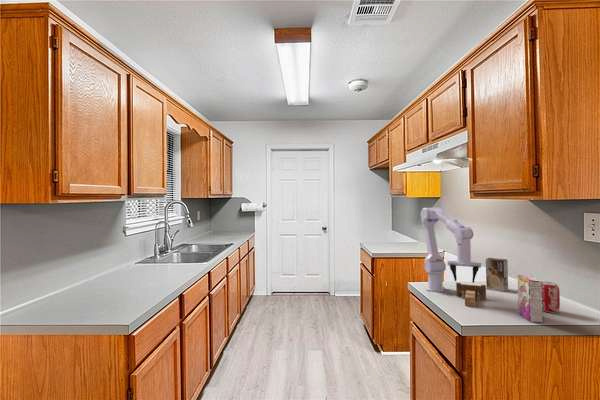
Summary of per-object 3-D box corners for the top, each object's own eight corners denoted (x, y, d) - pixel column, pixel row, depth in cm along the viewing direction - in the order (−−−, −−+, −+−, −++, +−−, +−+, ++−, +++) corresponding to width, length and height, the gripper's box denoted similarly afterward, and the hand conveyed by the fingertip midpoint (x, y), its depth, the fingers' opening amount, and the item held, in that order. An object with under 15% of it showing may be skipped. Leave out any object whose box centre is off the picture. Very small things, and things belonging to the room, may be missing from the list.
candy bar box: (517, 313, 146) (516, 274, 146) (530, 313, 145) (530, 274, 145) (529, 322, 135) (528, 280, 135) (543, 323, 134) (543, 280, 134)
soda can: (563, 312, 146) (562, 283, 146) (554, 315, 143) (554, 286, 143) (544, 307, 152) (544, 280, 152) (536, 310, 149) (535, 282, 149)
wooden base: (456, 295, 174) (456, 282, 174) (486, 298, 168) (485, 285, 168) (455, 297, 170) (455, 284, 170) (485, 301, 164) (485, 287, 164)
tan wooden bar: (466, 297, 170) (466, 289, 170) (475, 298, 168) (475, 290, 168) (464, 306, 157) (464, 297, 157) (474, 307, 155) (474, 298, 155)
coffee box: (508, 289, 183) (508, 259, 183) (504, 292, 178) (504, 261, 178) (490, 286, 189) (489, 257, 189) (485, 289, 185) (485, 259, 185)
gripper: (446, 253, 165) (447, 281, 165) (480, 255, 158) (481, 284, 158) (448, 251, 171) (448, 278, 171) (481, 252, 164) (481, 281, 164)
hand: (464, 281), depth 165 cm, fingers open, 7 cm apart
